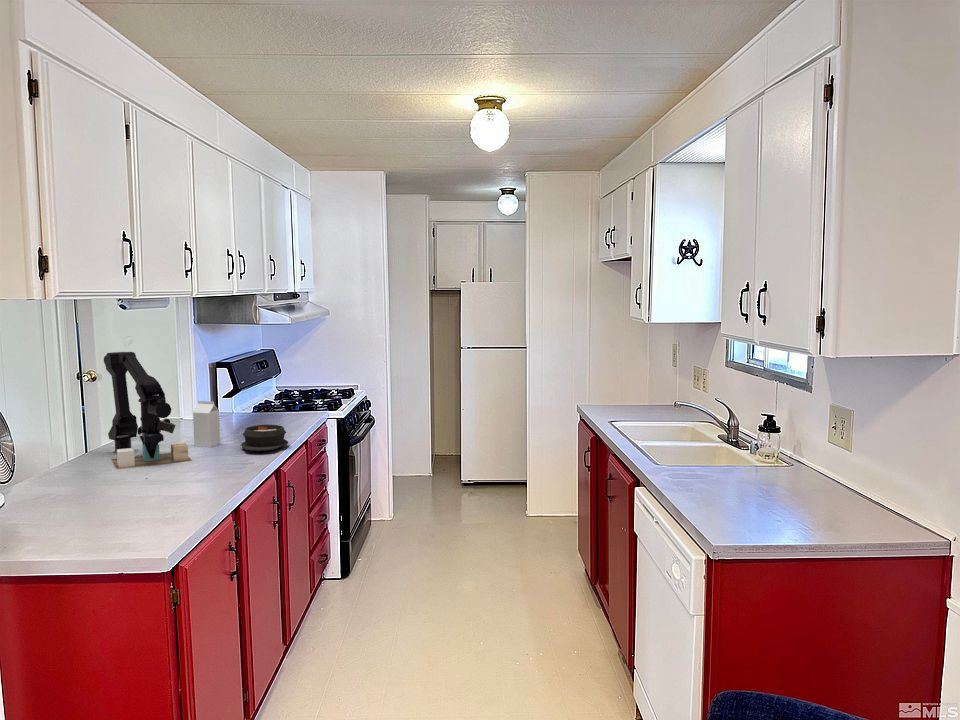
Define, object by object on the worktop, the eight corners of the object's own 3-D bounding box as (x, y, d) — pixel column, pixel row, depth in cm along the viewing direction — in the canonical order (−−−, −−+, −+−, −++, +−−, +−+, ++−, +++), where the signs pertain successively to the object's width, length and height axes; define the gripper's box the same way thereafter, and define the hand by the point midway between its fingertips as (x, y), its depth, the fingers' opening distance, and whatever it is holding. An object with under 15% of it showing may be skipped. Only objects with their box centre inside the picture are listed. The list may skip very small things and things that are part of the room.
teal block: (142, 458, 265) (142, 444, 264) (157, 457, 268) (156, 442, 267) (144, 461, 261) (144, 446, 260) (159, 459, 263) (159, 445, 263)
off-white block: (117, 464, 256) (116, 449, 255) (132, 462, 258) (132, 447, 258) (119, 467, 252) (118, 452, 251) (134, 465, 254) (134, 450, 254)
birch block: (171, 458, 265) (170, 444, 265) (185, 457, 268) (185, 442, 268) (173, 461, 261) (173, 446, 261) (188, 459, 264) (187, 445, 263)
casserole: (247, 441, 301) (247, 422, 301) (292, 441, 304) (292, 421, 303) (234, 455, 277) (233, 434, 276) (283, 454, 279) (283, 433, 278)
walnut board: (111, 462, 264) (110, 458, 264) (183, 454, 278) (182, 451, 278) (116, 472, 249) (116, 469, 249) (192, 464, 263) (192, 460, 262)
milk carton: (210, 450, 285) (208, 403, 283) (194, 449, 286) (192, 402, 284) (220, 446, 292) (218, 400, 290) (204, 445, 293) (203, 399, 291)
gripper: (177, 417, 259) (179, 459, 261) (168, 409, 275) (169, 449, 276) (144, 419, 253) (145, 463, 254) (136, 411, 269) (138, 452, 270)
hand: (151, 456), depth 264 cm, fingers closed on teal block, 5 cm apart
